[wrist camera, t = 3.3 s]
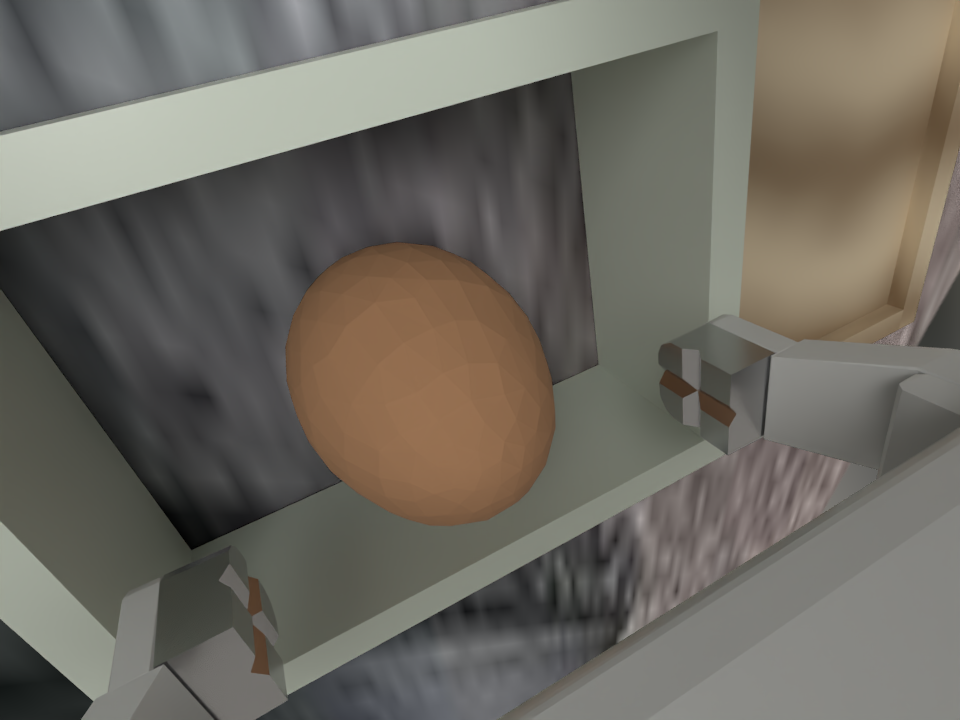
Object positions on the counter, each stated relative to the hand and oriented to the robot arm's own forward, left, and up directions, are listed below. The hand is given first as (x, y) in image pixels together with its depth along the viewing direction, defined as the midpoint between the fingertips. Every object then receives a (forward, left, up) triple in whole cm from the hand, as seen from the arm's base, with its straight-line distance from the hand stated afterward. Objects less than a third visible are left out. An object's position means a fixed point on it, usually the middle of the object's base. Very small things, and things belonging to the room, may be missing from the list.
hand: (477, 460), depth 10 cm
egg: (0, 0, -7) cm, 7 cm away
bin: (0, 0, -7) cm, 7 cm away
